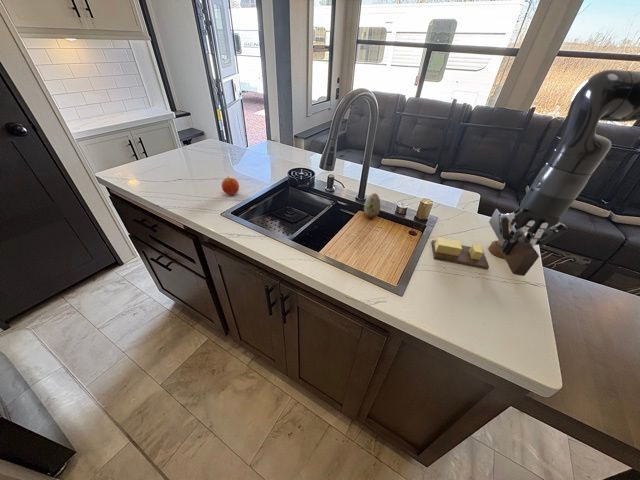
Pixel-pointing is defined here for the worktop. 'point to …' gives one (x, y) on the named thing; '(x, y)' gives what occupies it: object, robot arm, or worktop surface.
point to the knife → (516, 250)
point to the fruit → (230, 186)
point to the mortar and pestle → (498, 245)
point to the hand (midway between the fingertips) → (510, 253)
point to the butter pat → (476, 251)
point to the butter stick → (448, 246)
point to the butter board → (461, 257)
